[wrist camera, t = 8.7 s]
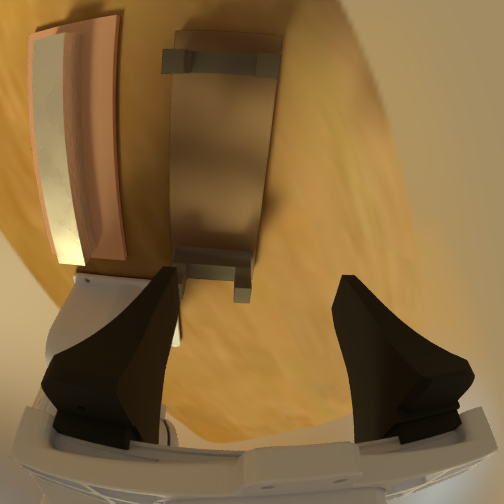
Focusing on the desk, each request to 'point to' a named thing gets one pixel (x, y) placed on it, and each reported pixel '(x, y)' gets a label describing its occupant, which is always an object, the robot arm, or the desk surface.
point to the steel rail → (62, 145)
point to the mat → (93, 130)
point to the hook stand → (219, 151)
